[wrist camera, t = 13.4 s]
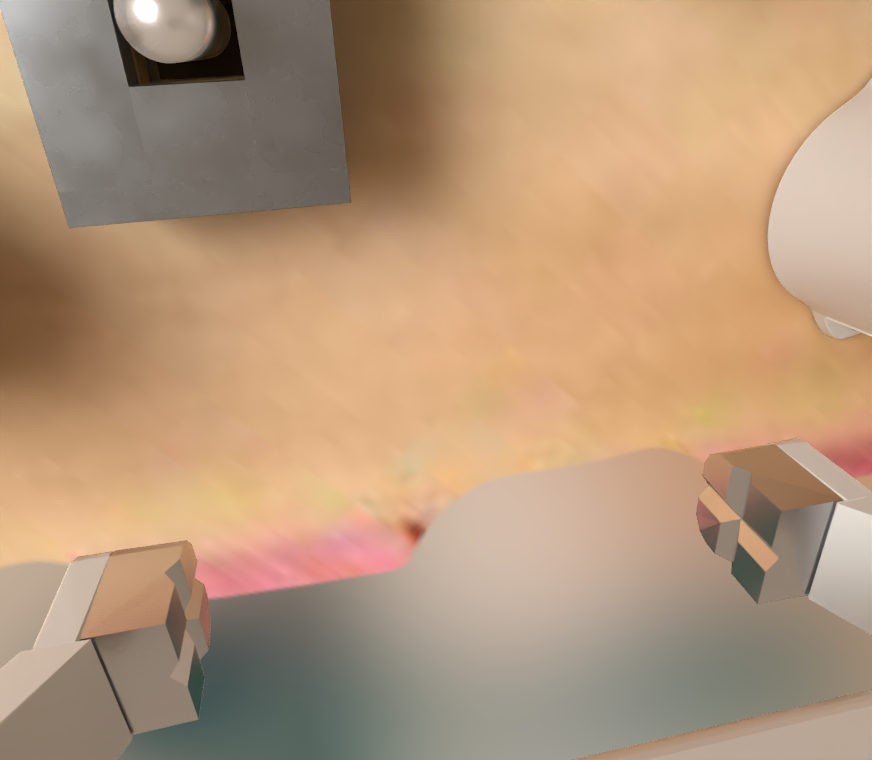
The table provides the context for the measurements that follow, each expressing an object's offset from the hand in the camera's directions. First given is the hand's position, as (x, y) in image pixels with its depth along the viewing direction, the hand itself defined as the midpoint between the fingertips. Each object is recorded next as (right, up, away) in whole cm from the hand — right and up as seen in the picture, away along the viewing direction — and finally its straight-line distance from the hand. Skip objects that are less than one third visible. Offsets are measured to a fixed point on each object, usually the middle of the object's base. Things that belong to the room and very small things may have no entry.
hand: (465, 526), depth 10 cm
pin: (-12, +19, +21) cm, 31 cm away
